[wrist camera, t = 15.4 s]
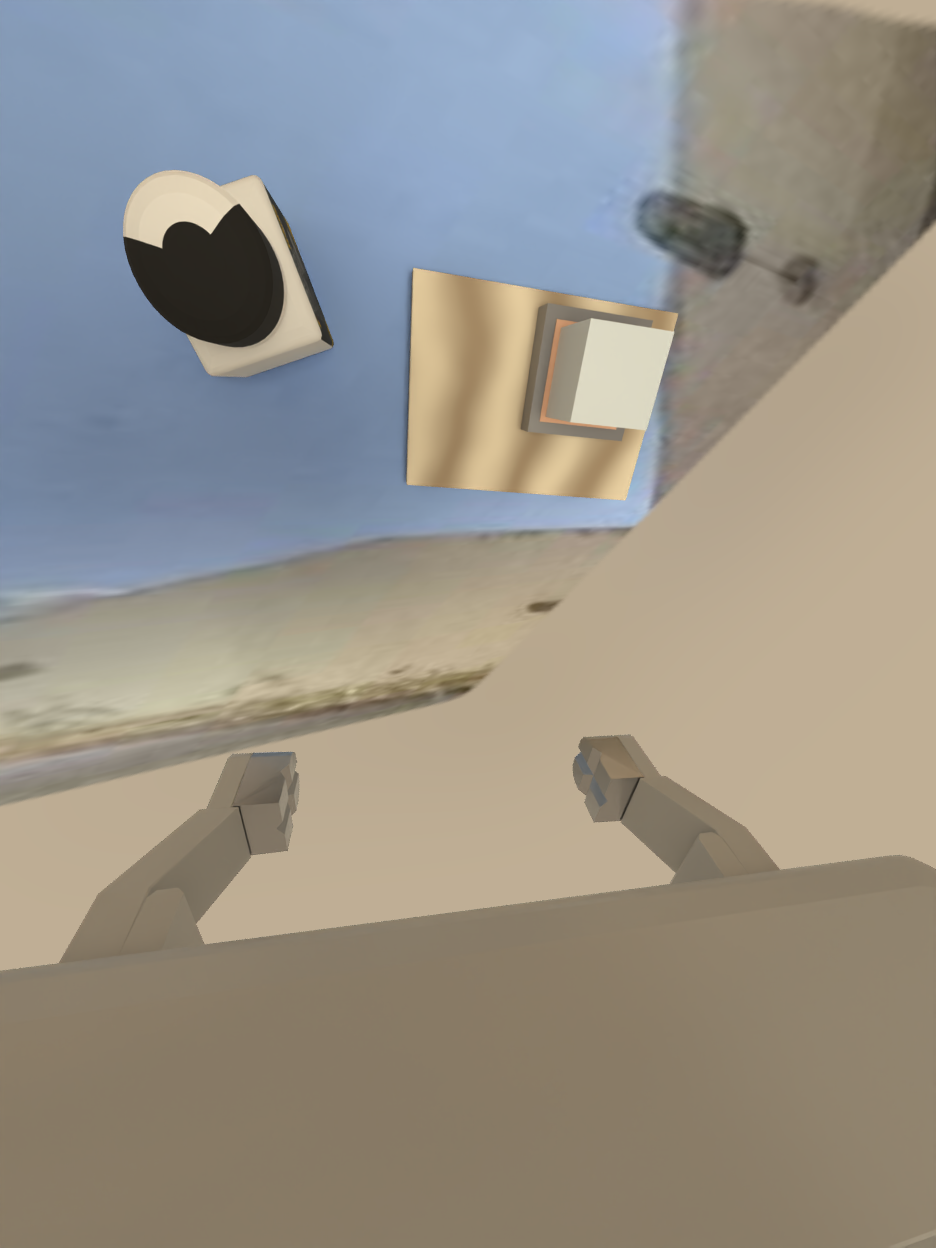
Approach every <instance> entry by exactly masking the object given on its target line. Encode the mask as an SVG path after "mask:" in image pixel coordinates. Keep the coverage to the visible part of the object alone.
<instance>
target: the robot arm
mask: <svg viewBox="0 0 936 1248" xmlns="http://www.w3.org/2000/svg"><path fill="white" fill-rule="evenodd" d="M579 749H580V751H581V752H580V754H578V755H577V756H576V757H575V759H574V763H573V776H574V780H575V783H576V785H577V788H578V789H579V790H580V791H581V792H582V793H584V794H585V795H586V799H585V804H586V807H587V809H588V811H589V813H590V815H591V817H592V819H593V821H594V822H608V821H621V823H622V824H623V825H624V826H626V827H627V828H628V829H629V830H630V831H631V832H632V833H633V834H634V835H635V836H636V837H637V838H639V839H640V840H641V841H642V842H643V843H644V844H645V845H646V846H647V847H648V848H649V849H650V850H651V851H653V852H654V853H655V854H656V855H657V856H658V857H659V858H660V859H661V860H662V861H663V862H664V863H666V864H667V865H668V866H669V867H670V868H671V869H672V870H673V871H674V872H676V874H675V876H674V877H673V879H672V880H671V882H670V884H667V885H660V886H652V887H645V888H637V889H629V890H622V891H613V892H606V893H599V894H591V895H583V896H575V897H567V898H560V899H552V900H545V901H536V902H529V903H521V904H513V905H506V906H498V907H491V908H483V909H475V910H468V911H460V912H452V913H445V914H437V915H430V916H422V917H414V918H407V919H399V920H391V921H383V922H375V923H367V924H360V925H352V926H344V927H337V928H329V929H321V930H314V931H306V932H298V933H290V934H283V935H275V936H267V937H259V938H252V939H244V940H236V941H229V942H220V943H213V944H206V945H204V942H203V940H202V937H201V935H200V932H199V930H198V927H197V925H196V923H197V922H198V921H199V920H200V918H201V917H202V916H203V915H204V914H205V912H206V911H207V910H208V909H209V908H210V906H211V905H212V904H213V903H214V901H215V900H216V899H217V898H218V897H219V895H220V894H221V893H222V892H223V890H224V889H225V888H226V887H227V886H228V884H229V883H230V882H231V881H232V880H233V878H234V877H235V876H236V875H237V874H238V872H239V871H240V870H241V869H242V868H243V866H244V865H245V864H246V863H247V861H248V860H249V859H250V858H251V856H250V855H256V854H265V853H273V852H281V851H288V846H289V841H290V837H291V833H292V828H293V823H292V817H291V815H292V814H293V813H294V812H295V811H296V809H297V804H298V797H299V774H298V773H297V772H296V771H295V768H296V763H297V760H296V754H295V752H270V753H247V754H246V753H245V754H232V755H231V756H230V757H229V758H228V760H227V762H226V765H225V767H224V769H223V771H222V774H221V776H220V779H219V781H218V783H217V785H216V788H215V790H214V793H213V795H212V797H211V800H210V802H209V804H208V806H207V809H202V810H199V811H198V812H196V813H195V814H194V815H193V816H192V817H190V818H189V819H188V820H187V821H186V822H184V823H183V824H182V825H181V826H180V827H178V828H177V829H176V830H175V831H174V832H172V833H171V834H170V835H169V836H167V838H165V839H164V840H163V841H161V842H160V843H159V844H158V845H157V846H155V847H154V848H153V849H152V850H151V851H149V852H148V853H147V854H146V855H145V856H143V857H142V858H141V859H140V860H139V861H137V862H136V863H135V864H134V865H133V866H131V867H130V868H129V869H128V870H126V872H124V873H123V874H122V875H121V876H119V877H118V878H117V879H116V880H115V881H113V882H112V883H111V884H110V885H108V886H107V887H106V888H105V889H104V890H103V891H101V892H100V893H99V894H98V895H97V897H96V899H95V901H94V902H93V904H92V906H91V908H90V909H89V911H88V913H87V915H86V916H85V919H84V920H83V922H82V923H81V925H80V927H79V929H78V930H77V932H76V934H75V936H74V937H73V939H72V941H71V943H70V944H69V946H68V948H67V950H66V952H65V953H64V955H63V957H62V958H61V960H60V962H59V963H58V964H50V965H42V966H34V967H26V968H19V969H11V970H3V971H0V1248H936V869H934V868H933V867H931V866H929V865H926V864H924V863H922V862H920V861H918V860H916V859H914V858H911V857H907V856H901V855H893V856H883V857H876V858H868V859H860V860H852V861H845V862H837V863H829V864H822V865H814V866H806V867H799V868H791V869H783V870H780V869H779V868H778V867H777V865H776V864H775V863H774V862H773V860H772V859H771V858H770V857H769V855H768V854H767V853H766V852H765V850H764V849H763V848H762V847H761V845H760V844H759V843H758V842H757V840H756V839H755V838H754V837H753V836H752V834H751V833H750V832H749V831H748V829H747V828H746V827H744V826H743V825H741V824H740V823H738V822H737V821H735V820H733V819H732V818H730V817H729V816H727V815H726V814H724V813H722V812H721V811H719V810H718V809H716V808H715V807H713V806H711V805H710V804H708V803H707V802H705V801H704V800H702V799H701V798H699V797H697V796H696V795H694V794H693V793H691V792H689V791H688V790H687V789H685V788H683V787H682V786H680V785H679V784H677V783H675V782H674V781H672V780H671V779H669V778H668V777H666V776H661V775H660V774H659V773H658V771H657V770H656V768H655V767H654V765H653V764H652V763H651V761H650V760H649V758H648V757H647V755H646V754H645V753H644V751H643V750H642V748H641V747H640V746H639V744H638V743H637V741H636V740H635V738H634V737H633V736H631V735H615V736H597V737H583V739H581V741H580V743H579Z"/></svg>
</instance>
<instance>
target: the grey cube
mask: <svg viewBox="0 0 936 1248" xmlns="http://www.w3.org/2000/svg"><path fill="white" fill-rule="evenodd" d="M673 335H674V332H673V331H667V330H661V329H655V328H648V327H642V326H636V325H630V324H624V323H618V322H612V321H606V320H599V319H593V318H590V319H587V320H584V321H581V322H577V323H574V324H571V325H568V326H565V327H562V328H561V331H560V337H559V342H558V348H557V354H556V360H555V365H554V371H553V377H552V383H551V388H550V394H549V400H548V406H547V411H546V417H548V418H553V419H558V420H562V421H567V422H573V423H582V424H591V425H601V426H610V427H619V428H628V429H637V430H647V426H648V423H649V419H650V416H651V412H652V409H653V405H654V402H655V398H656V395H657V391H658V388H659V384H660V381H661V377H662V374H663V370H664V367H665V363H666V360H667V356H668V353H669V349H670V345H671V342H672V338H673Z"/></svg>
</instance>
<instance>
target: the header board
mask: <svg viewBox="0 0 936 1248" xmlns="http://www.w3.org/2000/svg"><path fill="white" fill-rule="evenodd" d="M677 316H678V314H677V313H671V312H666V311H660V310H654V309H648V308H642V307H637V306H631V305H625V304H619V303H614V302H608V301H602V300H596V299H590V298H585V297H579V296H573V295H567V294H562V293H556V292H550V291H544V290H538V289H533V288H527V287H521V286H515V285H509V284H504V283H498V282H492V281H486V280H481V279H475V278H469V277H463V276H457V275H452V274H446V273H440V272H434V271H429V270H423V269H417V268H413V272H412V300H411V335H410V369H409V404H408V438H407V473H406V482H407V485H418V486H432V487H446V488H460V489H474V490H488V491H502V492H516V493H531V494H545V495H559V496H573V497H587V498H601V499H615V500H626V497H627V493H628V490H629V486H630V483H631V479H632V475H633V472H634V468H635V465H636V461H637V458H638V454H639V451H640V447H641V444H642V440H643V437H644V433H645V430H637V429H628V428H619V427H610V426H601V425H591V424H582V423H573V422H567V421H562V420H558V419H553V418H548V417H546V411H547V406H548V400H549V394H550V388H551V383H552V377H553V371H554V365H555V360H556V354H557V348H558V342H559V337H560V331H561V328H562V327H565V326H568V325H571V324H574V323H577V322H581V321H584V320H587V319H590V318H593V319H599V320H606V321H612V322H618V323H624V324H630V325H636V326H642V327H648V328H655V329H661V330H667V331H673V330H674V327H675V323H676V320H677Z"/></svg>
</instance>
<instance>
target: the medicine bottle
mask: <svg viewBox="0 0 936 1248" xmlns="http://www.w3.org/2000/svg"><path fill="white" fill-rule="evenodd" d="M123 238H124V245H125V251H126V255H127V259H128V262H129V265H130V267H131V270H132V273H133V275H134V277H135V279H136V281H137V283H138V285H139V287H140V288H141V290H142V292H143V293H144V295H145V296H146V298H147V299H148V300H149V302H150V303H151V304H152V305H153V307H154V308H155V309H156V310H157V311H158V312H159V313H160V314H161V315H162V316H163V317H164V318H165V319H166V320H167V321H168V322H170V323H171V324H172V325H173V326H175V327H176V328H178V329H179V330H180V331H182V332H184V333H186V335H187V337H188V338H189V340H190V342H191V344H192V346H193V348H194V350H195V351H196V353H197V355H198V357H199V359H200V361H201V363H202V364H203V366H204V368H205V370H206V371H207V373H208V374H209V375H211V376H224V377H249V376H252V375H255V374H258V373H261V372H264V371H267V370H270V369H272V368H275V367H278V366H281V365H284V364H287V363H290V362H293V361H296V360H299V359H302V358H305V357H308V356H311V355H314V354H316V353H319V352H322V351H325V350H328V349H331V348H332V347H333V345H334V343H333V339H332V337H331V334H330V331H329V329H328V326H327V324H326V321H325V318H324V316H323V313H322V310H321V308H320V305H319V303H318V300H317V297H316V295H315V292H314V290H313V287H312V284H311V282H310V279H309V276H308V274H307V271H306V269H305V266H304V263H303V261H302V258H301V256H300V253H299V250H298V248H297V245H296V242H295V240H294V237H293V235H292V232H291V229H290V227H289V224H288V223H287V221H286V219H285V218H284V216H283V215H282V213H281V211H280V210H279V208H278V206H277V205H276V203H275V202H274V200H273V198H272V197H271V195H270V194H269V192H268V190H267V189H266V187H265V185H264V184H263V182H262V181H261V179H260V178H259V177H257V176H255V175H251V176H248V177H245V178H242V179H239V180H237V181H234V182H231V183H228V184H225V185H222V186H219V185H217V184H215V183H214V182H212V181H210V180H209V179H207V178H204V177H202V176H200V175H198V174H194V173H191V172H187V171H179V170H170V171H162V172H159V173H155V174H153V175H151V176H150V177H148V178H146V179H145V180H144V181H142V182H141V183H140V184H139V185H138V186H137V187H136V189H135V190H134V191H133V193H132V195H131V197H130V199H129V201H128V203H127V206H126V210H125V214H124V222H123Z"/></svg>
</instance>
